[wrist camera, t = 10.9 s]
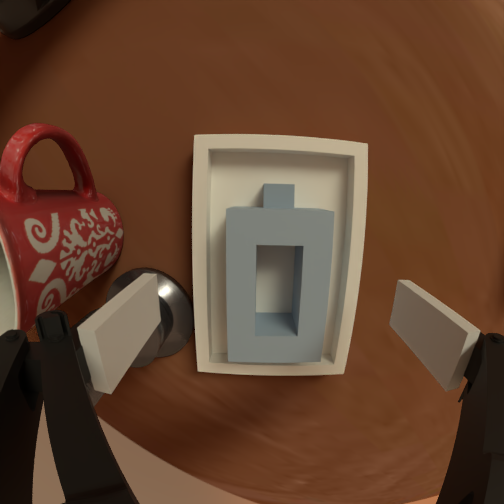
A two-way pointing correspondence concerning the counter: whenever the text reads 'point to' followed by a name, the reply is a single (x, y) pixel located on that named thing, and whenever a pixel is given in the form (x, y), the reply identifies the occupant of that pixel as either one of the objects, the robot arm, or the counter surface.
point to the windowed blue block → (304, 284)
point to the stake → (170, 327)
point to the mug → (50, 232)
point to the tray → (275, 256)
